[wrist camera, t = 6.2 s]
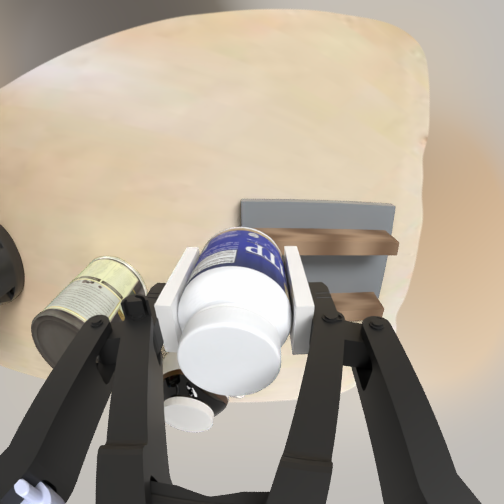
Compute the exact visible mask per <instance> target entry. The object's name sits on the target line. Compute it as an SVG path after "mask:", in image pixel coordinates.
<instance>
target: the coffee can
mask: <svg viewBox="0 0 504 504" xmlns="http://www.w3.org/2000/svg"><path fill="white" fill-rule="evenodd" d="M133 294H142V295H145V296H147V289H146V286H145V283H144V281H143V279H142V277H141V276H140V274H139V273H138V272H137V271H136V270H135V269H134V268H133V267H132V266H131V265H130V264H128V263H127V262H125V261H124V260H122V259H120V258H117V257H112V256H102V257H99V258H96V259H94V260H93V261H92V262H91V263H90V264H89V265H88V266H87V267H86V268H85V269H84V270H83V271H82V272H81V273H80V274H79V275H78V276H77V277H76V278H75V279H74V280H73V281H72V282H71V283H70V284H69V285H68V286H67V287H66V288H65V289H64V290H63V291H62V292H61V293H60V294H59V295H58V296H57V297H56V298H55V299H54V300H53V301H52V302H51V303H50V304H49V305H48V306H47V307H46V308H45V309H44V310H43V311H42V312H40V313H39V314H38V315H37V316H36V317H35V318H34V320H33V321H32V325H31V332H32V337H33V340H34V343H35V345H36V347H37V349H38V351H39V352H40V354H41V355H42V357H43V358H44V359H45V361H46V362H47V363H48V364H49V365H50V366H51V367H52V368H54V367H55V365H56V364H57V362H58V361H59V359H60V358H61V356H62V355H63V353H64V352H65V350H66V349H67V347H68V346H69V344H70V343H71V342H72V340H73V339H74V337H75V336H76V334H77V333H78V331H79V330H80V329H81V327H82V326H83V324H84V323H85V322H86V321H87V320H88V319H89V318H91V317H92V316H95V315H106V316H107V317H109V320H110V323H112V322H119V321H124V319H125V317H124V314H123V310H122V307H121V301H122V300H123V299H124V298H125V297H127V296H129V295H133ZM96 359H97V358H96Z"/></svg>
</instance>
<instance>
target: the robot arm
mask: <svg viewBox="0 0 504 504" xmlns="http://www.w3.org/2000/svg"><path fill="white" fill-rule="evenodd" d="M199 256H200V253H199V247H187V248H186V250H185V252H184V253H183V255H182V257H181V259H180V260H179V262H178V264H177V265H176V267H175V269H174V271H173V272H172V274H171V276H170V278H169V279H168V281H167V283H157V284H156V285H154V286H153V287H152V288H151V289H150V291H149V292H148V294H147V296H145V295H142V294H133V295H129V296H127V297H125V298H124V299H123V300H122V301H121V307H122V310H123V314H124V317H125V319H124V321H119V322H112V323H110V320H109V317H107V316H106V315H95V316H92V317H91V318H89V319H88V320H87V321H86V322H85V323H84V324H83V326H82V327H81V329H80V330H79V331H78V333H77V334H76V336H75V337H74V339H73V340H72V342H71V343H70V344H69V346H68V347H67V349H66V350H65V352H64V353H63V355H62V356H61V358H60V359H59V361H58V362H57V364H56V365H55V367H54V368H53V370H52V372H51V373H50V375H49V376H48V378H47V380H46V381H45V383H44V384H43V386H42V388H41V389H40V391H39V393H38V394H37V396H36V398H35V399H34V401H33V403H32V404H31V406H30V408H29V410H28V411H27V413H26V415H25V417H24V419H23V420H22V422H21V424H20V426H19V428H18V430H17V432H16V434H15V436H14V437H13V439H12V441H11V444H10V445H9V447H8V448H7V449H6V450H5V451H4V452H3V453H2V454H1V455H0V504H65V503H66V502H67V500H68V499H69V497H70V495H71V493H72V492H73V489H74V487H75V484H76V482H77V479H78V476H79V474H80V470H81V468H82V465H83V462H84V459H85V457H86V454H87V451H88V449H89V446H90V443H91V440H92V438H93V435H94V433H95V430H96V428H97V425H98V423H99V420H100V418H101V415H102V413H103V410H104V408H105V406H106V403H107V401H108V398H109V396H110V394H111V392H112V394H111V402H110V410H109V420H108V431H107V442H106V444H105V445H102V446H100V447H99V449H98V455H97V471H96V504H326V500H327V495H328V490H329V485H330V480H331V475H332V468H333V463H332V461H331V460H332V452H333V446H334V440H335V433H336V425H337V418H338V409H339V400H340V391H341V380H342V368H343V365H344V366H350V367H352V371H353V374H354V378H355V382H356V385H357V388H358V392H359V396H360V400H361V404H362V407H363V411H364V415H365V419H366V423H367V427H368V431H369V435H370V439H371V444H372V448H373V453H374V457H375V461H376V466H377V471H378V476H379V481H380V486H381V491H382V496H383V501H384V504H481V503H480V501H479V500H478V499H477V498H476V496H475V495H474V494H473V493H472V492H471V490H470V489H469V488H468V487H467V486H466V484H465V483H464V482H463V481H462V479H461V478H460V477H459V476H458V475H457V473H456V470H455V467H454V464H453V461H452V459H451V456H450V453H449V450H448V448H447V445H446V443H445V440H444V437H443V435H442V432H441V430H440V427H439V425H438V422H437V420H436V418H435V415H434V413H433V411H432V408H431V406H430V404H429V401H428V399H427V397H426V395H425V392H424V391H423V388H422V386H421V384H420V382H419V379H418V377H417V375H416V373H415V371H414V369H413V367H412V365H411V363H410V361H409V359H408V357H407V355H406V353H405V351H404V349H403V347H402V345H401V343H400V341H399V339H398V337H397V335H396V333H395V331H394V330H393V328H392V326H391V324H390V323H389V321H388V320H386V319H384V318H382V317H379V316H370V317H367V318H365V319H364V320H363V322H362V324H359V323H353V322H349V321H346V320H345V317H344V316H343V314H342V313H340V312H338V311H337V309H336V307H335V304H334V302H333V299H332V298H331V294H330V292H329V289H328V287H327V286H326V285H325V284H324V283H323V282H307V278H306V275H305V272H304V268H303V265H302V262H301V258H300V255H299V252H298V249H297V246H284V268H285V274H286V279H287V285H288V291H289V298H290V304H291V311H292V324H291V329H290V339H291V346H292V354H293V355H295V354H308V357H307V362H306V366H305V371H304V375H303V380H302V384H301V388H300V392H299V397H298V401H297V405H296V409H295V413H294V417H293V420H292V424H291V428H290V431H289V435H288V439H287V442H286V446H285V449H284V453H283V455H282V457H281V460H280V463H279V466H278V469H277V472H276V475H275V478H274V481H273V484H272V487H271V490H270V492H240V493H234V494H227V495H220V496H212V497H209V496H204V495H202V494H199V493H196V492H193V491H190V490H187V489H185V488H182V487H180V486H177V485H173V484H172V482H171V479H170V474H169V466H168V456H167V445H166V432H165V416H164V394H163V356H162V353H161V348H162V345H163V344H164V348H165V351H166V352H176V353H177V350H178V345H179V342H180V339H181V335H182V331H181V328H180V326H179V321H178V306H179V302H180V299H181V296H182V293H183V291H184V288H185V286H186V284H187V282H188V280H189V278H190V276H191V273H192V271H193V269H194V267H195V265H196V263H197V261H198V258H199ZM23 286H24V271H23V266H22V262H21V258H20V255H19V253H18V250H17V248H16V246H15V244H14V242H13V240H12V238H11V237H10V235H9V234H8V232H7V231H6V230H5V229H4V228H3V227H2V226H1V225H0V305H3V304H5V303H8V302H11V301H12V300H14V299H15V298H16V297H17V296H18V295H19V294H20V293H21V291H22V289H23ZM96 358H97V359H96Z"/></svg>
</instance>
